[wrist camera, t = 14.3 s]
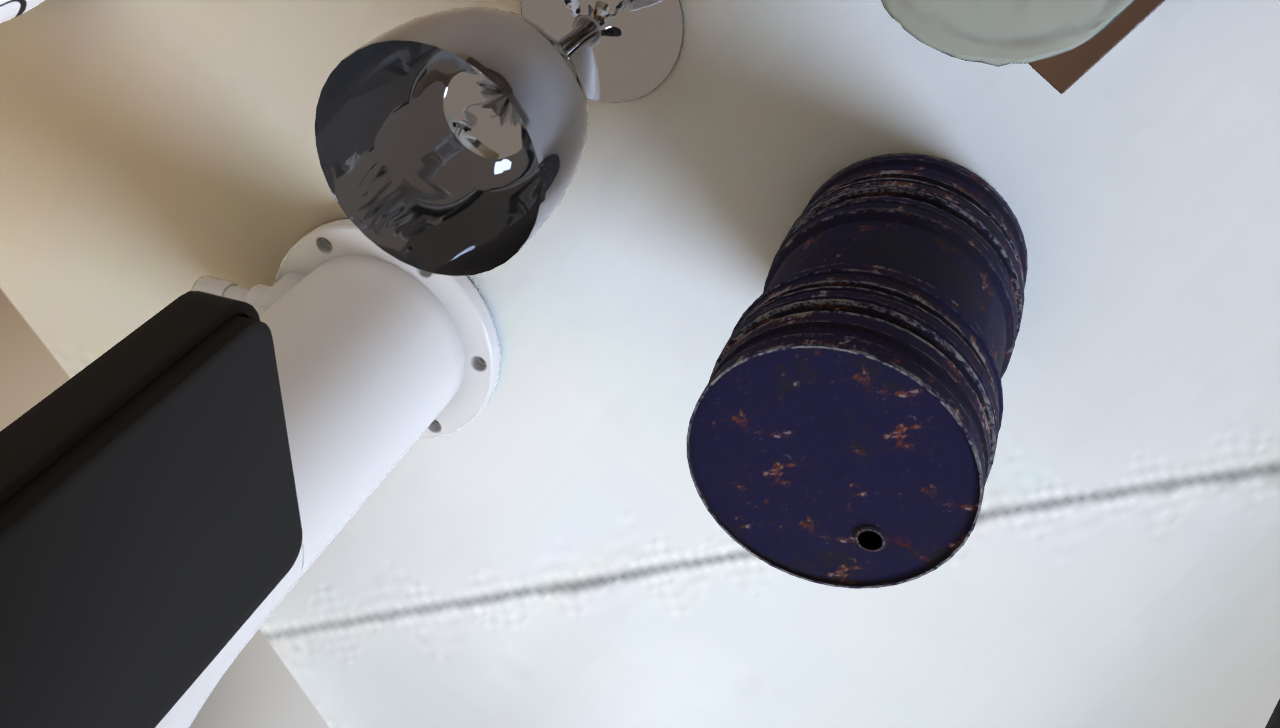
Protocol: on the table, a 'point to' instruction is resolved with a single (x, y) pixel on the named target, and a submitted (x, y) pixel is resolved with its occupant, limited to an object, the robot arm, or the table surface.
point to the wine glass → (480, 120)
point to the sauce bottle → (1004, 26)
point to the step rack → (1092, 47)
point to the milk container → (15, 8)
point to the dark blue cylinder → (867, 378)
